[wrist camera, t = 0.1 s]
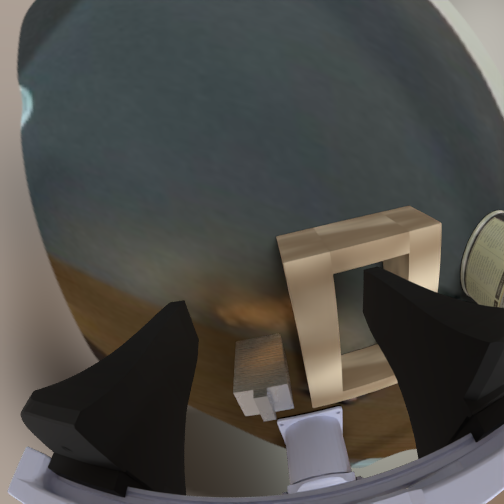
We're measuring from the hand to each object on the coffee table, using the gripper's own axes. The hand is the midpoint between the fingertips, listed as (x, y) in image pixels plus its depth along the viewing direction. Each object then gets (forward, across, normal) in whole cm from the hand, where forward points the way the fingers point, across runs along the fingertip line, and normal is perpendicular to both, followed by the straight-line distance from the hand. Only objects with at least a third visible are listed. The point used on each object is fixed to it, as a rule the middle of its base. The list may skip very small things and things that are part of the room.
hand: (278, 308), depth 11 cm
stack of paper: (+10, +2, +11) cm, 15 cm away
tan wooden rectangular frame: (+10, -7, +8) cm, 14 cm away
